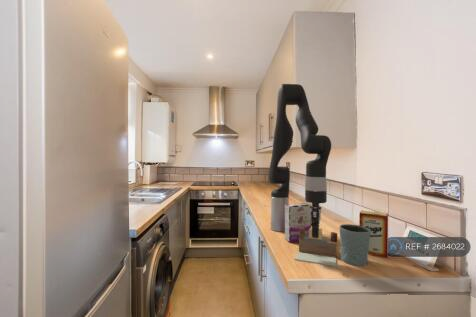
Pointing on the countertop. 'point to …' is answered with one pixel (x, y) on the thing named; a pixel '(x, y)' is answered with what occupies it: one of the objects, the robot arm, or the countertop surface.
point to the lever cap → (318, 240)
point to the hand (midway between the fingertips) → (315, 235)
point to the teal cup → (354, 244)
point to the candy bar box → (296, 220)
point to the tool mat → (316, 259)
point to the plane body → (318, 245)
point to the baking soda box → (376, 231)
